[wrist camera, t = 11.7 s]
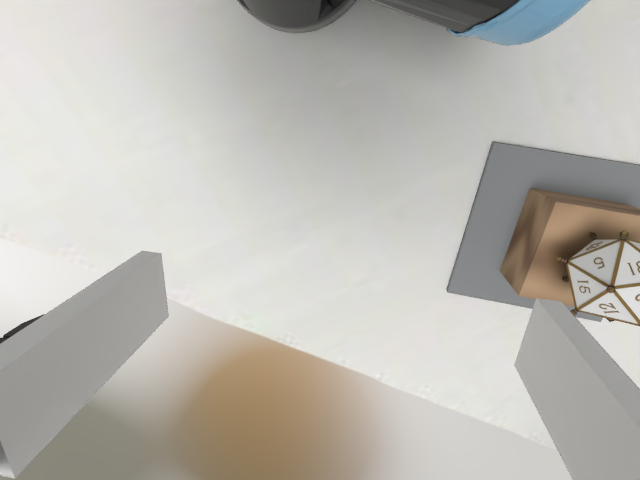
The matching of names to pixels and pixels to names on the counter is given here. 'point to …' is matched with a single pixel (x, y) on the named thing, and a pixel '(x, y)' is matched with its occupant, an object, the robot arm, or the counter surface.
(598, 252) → the game die
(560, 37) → the counter surface
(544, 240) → the walnut block
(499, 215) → the build mat
